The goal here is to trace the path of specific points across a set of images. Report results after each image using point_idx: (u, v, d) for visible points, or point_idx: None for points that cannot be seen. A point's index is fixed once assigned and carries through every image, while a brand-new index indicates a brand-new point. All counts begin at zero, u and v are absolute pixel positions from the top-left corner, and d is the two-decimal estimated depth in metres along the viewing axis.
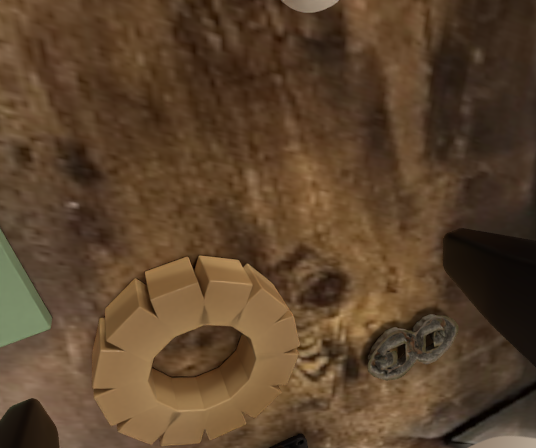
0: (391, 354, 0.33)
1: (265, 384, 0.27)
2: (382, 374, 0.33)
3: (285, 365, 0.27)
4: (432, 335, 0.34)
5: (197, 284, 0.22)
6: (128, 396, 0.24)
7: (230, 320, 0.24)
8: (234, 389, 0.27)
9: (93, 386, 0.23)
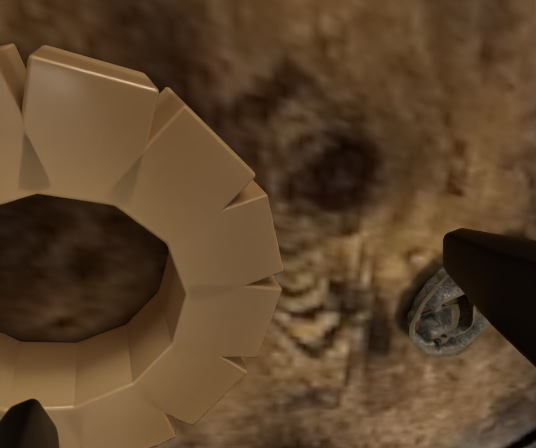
0: (449, 311, 0.19)
1: (211, 354, 0.13)
2: (432, 346, 0.19)
3: (253, 313, 0.13)
4: None
5: None
6: None
7: (108, 188, 0.10)
8: (143, 364, 0.12)
9: None
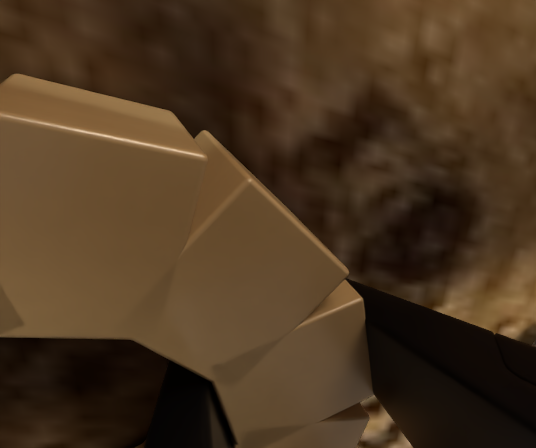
0: None
1: None
2: None
3: None
4: None
5: None
6: None
7: (121, 316, 0.06)
8: None
9: None
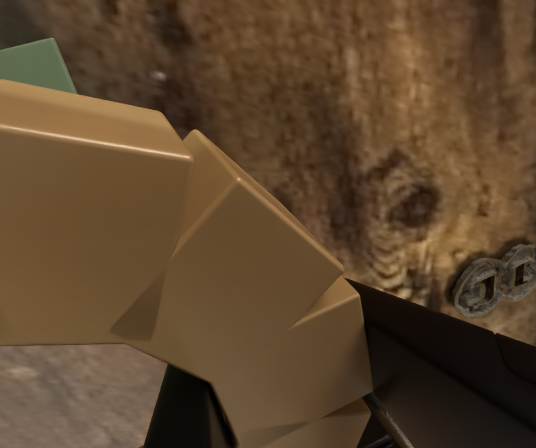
0: (478, 288, 0.30)
1: None
2: (468, 311, 0.30)
3: None
4: (521, 268, 0.31)
5: None
6: None
7: (113, 321, 0.06)
8: None
9: None
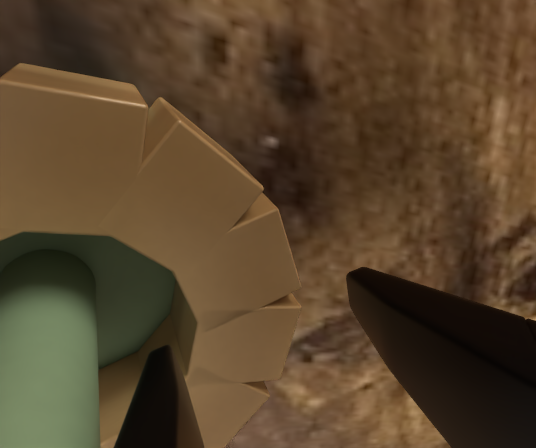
0: None
1: (230, 382, 0.12)
2: None
3: (272, 335, 0.12)
4: None
5: None
6: None
7: (101, 218, 0.09)
8: None
9: None
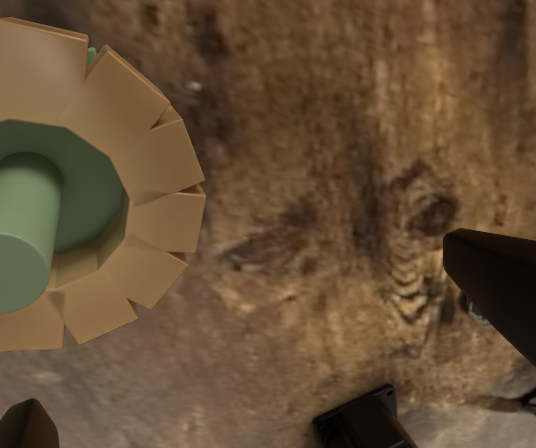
0: None
1: (156, 249, 0.17)
2: (481, 318, 0.31)
3: (185, 215, 0.17)
4: None
5: None
6: None
7: (59, 114, 0.14)
8: (105, 257, 0.17)
9: None
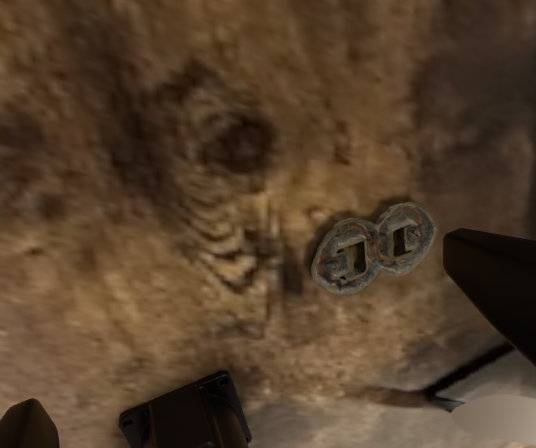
0: (345, 257, 0.24)
1: None
2: (333, 286, 0.24)
3: None
4: (403, 234, 0.25)
5: None
6: None
7: None
8: None
9: None
